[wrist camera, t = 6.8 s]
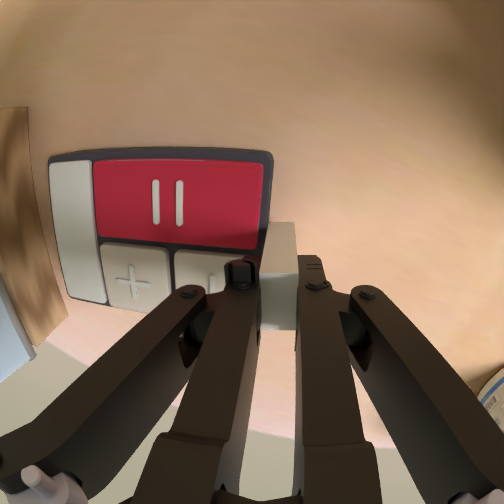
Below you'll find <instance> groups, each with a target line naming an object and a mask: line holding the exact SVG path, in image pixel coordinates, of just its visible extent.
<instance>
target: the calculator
mask: <svg viewBox="0 0 504 504" xmlns="http://www.w3.org/2000/svg"><path fill="white" fill-rule="evenodd" d="M273 167H274V160H273V156H272V154H271V153H270V152H268V151H262V150H249V149H234V148H213V147H133V148H108V149H94V150H82V151H76V152H70V153H65V154H60V155H56V156H52V157H50V158H49V160H48V175H49V189H50V200H51V209H52V217H53V224H54V231H55V237H56V243H57V249H58V254H59V259H60V264H61V269H62V273H63V277H64V282H65V286H66V290H67V293H68V295H69V296H70V297H71V298H73V299H77V300H82V301H86V302H91V303H96V304H101V305H105V306H110V307H116V308H121V309H126V310H132V311H137V312H143V313H150V312H151V311H152V310H153V309H154V308H155V307H157V306H158V305H159V304H160V303H161V302H162V301H163V300H164V299H166V298H167V297H168V296H169V295H170V294H171V293H172V292H174V291H175V290H176V289H178V288H179V287H182V286H184V285H189V284H193V285H199V286H202V287H203V288H205V291H206V294H211V293H217V292H221V291H223V290H224V287H225V285H226V284H225V273H224V265H225V264H226V263H227V262H229V261H231V260H236V259H242V258H243V257H244V256H263V250H264V245H265V240H266V235H267V230H268V221H269V210H270V200H271V189H272V178H273Z"/></svg>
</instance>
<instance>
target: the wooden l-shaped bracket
mask: <svg viewBox="0 0 504 504" xmlns="http://www.w3.org/2000/svg"><path fill="white" fill-rule="evenodd" d="M0 273H1V275H2V278H3V281H4V284H5V286H6V289H7V292H8V294H9V297H10V299H11V302H12V304H13V307H14V309H15V311H16V314H17V316H18V318H19V320H20V323H21V325H22V327H23V329H24V331H25V333H26V335H27V337H28V339H29V341H30V343H31V344H32V345H34V346H37V347H38V346H39V345H40V344H41V342H42V341H44V339H45V338H46V337H47V336H48V335H49V334H50V333H51V332H52V331H53V330H54V329H55V328H56V327H57V326H58V325H59V324H60V323H61V322H62V321H63V320H64V319H65V318H66V317H67V316H68V313H67V310H66V308H65V305H64V302H63V300H62V297H61V294H60V291H59V288H58V285H57V282H56V279H55V276H54V273H53V270H52V266H51V263H50V259H49V256H48V252H47V249H46V245H45V241H44V237H43V233H42V228H41V224H40V219H39V214H38V209H37V204H36V198H35V192H34V185H33V178H32V170H31V161H30V151H29V136H28V107H17V108H4V109H0Z"/></svg>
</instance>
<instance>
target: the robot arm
mask: <svg viewBox="0 0 504 504" xmlns="http://www.w3.org/2000/svg"><path fill="white" fill-rule="evenodd" d="M224 273H225V284H226V285H225V287H224V290H223V291H221V292H217V293H211V294H206V291H205V288H203V287H202V286H199V285H193V284H189V285H184V286H182V287H179V288H178V289H176V290H175V291H174V292H172V293H171V294H170V295H169V296H168V297H167V298H166V299H164V300H163V301H162V302H161V303H160V304H159V305H158V306H157V307H155V308H154V309H153V310H152V311H151V312H150V313H149V314H148V315H146V316H145V317H144V318H143V319H142V320H141V321H140V322H139V323H137V324H136V325H135V326H134V327H133V328H132V329H131V330H130V331H129V332H127V333H126V334H125V335H124V336H123V337H122V338H121V339H120V340H119V341H117V342H116V343H115V344H114V345H113V346H112V347H111V348H110V349H109V350H108V351H107V352H105V353H104V354H103V355H102V356H101V357H100V358H99V359H98V360H97V361H96V362H95V363H93V364H92V365H91V366H90V367H89V368H88V369H87V370H86V371H85V372H84V373H83V374H82V375H81V376H80V377H78V378H77V380H75V381H74V382H73V383H72V384H71V385H70V386H69V387H68V388H67V389H66V390H65V391H64V392H63V393H61V394H60V395H59V396H58V397H57V398H56V399H55V400H54V401H53V402H52V403H51V404H50V405H49V406H48V407H47V408H46V409H45V410H44V411H43V412H41V413H40V414H39V416H37V417H36V418H35V419H34V420H33V421H32V422H30V423H28V424H26V425H24V426H22V427H20V428H18V429H16V430H14V431H12V432H10V433H8V434H6V435H4V436H2V437H0V489H1V490H2V491H3V492H4V493H5V495H6V497H7V499H8V502H9V504H88V500H89V499H91V498H93V497H94V496H96V495H97V494H98V493H99V492H101V491H102V490H103V489H104V488H105V487H106V486H107V485H108V484H109V483H110V482H111V481H112V480H113V478H114V477H115V476H116V475H117V473H118V472H119V471H120V470H121V469H122V467H123V466H124V465H125V463H126V462H127V461H128V460H129V458H130V457H131V455H132V454H133V453H134V452H135V450H136V449H137V448H138V447H139V445H140V444H141V443H142V441H143V440H144V439H145V438H146V436H147V435H148V434H149V432H150V431H151V430H152V428H153V427H154V426H155V424H156V423H157V422H158V421H159V419H160V418H161V417H162V415H163V414H164V413H165V411H166V410H167V409H168V407H169V406H170V405H171V403H172V402H173V401H174V399H175V398H176V397H177V395H178V394H179V393H180V391H181V390H182V388H183V387H184V386H185V384H186V383H187V382H188V384H187V387H186V389H185V392H184V395H183V397H182V400H181V403H180V406H179V408H178V411H177V414H176V416H175V419H174V422H173V425H172V427H171V429H170V430H169V432H163V433H160V434H159V435H158V436H157V438H156V440H155V442H154V443H153V446H152V449H151V451H150V454H149V456H148V459H147V461H146V464H145V466H144V469H143V472H142V474H141V477H140V479H139V482H138V485H137V487H136V490H135V493H134V495H133V496H132V497H130V498H128V499H126V500H125V501H123V502H121V503H119V504H382V496H381V488H380V480H379V472H378V465H377V458H376V453H375V449H374V446H373V444H372V443H371V442H369V441H366V440H365V438H364V434H363V428H362V422H361V416H360V410H359V404H358V399H357V394H356V388H355V383H354V378H353V373H352V369H351V365H352V367H353V368H354V370H355V372H356V374H357V375H358V377H359V379H360V381H361V383H362V384H363V386H364V388H365V390H366V392H367V393H368V395H369V397H370V399H371V401H372V403H373V404H374V406H375V408H376V410H377V412H378V414H379V415H380V417H381V419H382V421H383V423H384V425H385V427H386V429H387V430H388V432H389V434H390V436H391V438H392V440H393V442H394V444H395V446H396V447H397V449H398V451H399V453H400V455H401V457H402V459H403V461H404V463H405V465H406V467H407V469H408V471H409V473H410V474H411V477H412V479H413V481H414V483H415V485H416V487H417V489H418V490H419V493H420V494H421V496H422V498H423V500H424V501H425V503H426V504H504V433H503V432H502V430H501V429H500V427H499V426H498V425H497V423H496V422H495V421H494V419H493V418H492V417H491V415H490V414H489V413H488V411H487V410H486V409H485V407H484V406H483V405H482V404H481V402H480V401H479V400H478V398H477V397H476V396H475V395H474V393H473V392H472V391H471V390H470V388H469V387H468V386H467V385H466V384H465V382H464V381H463V380H462V379H461V377H460V376H459V375H458V374H457V373H456V371H455V370H454V369H453V368H452V367H451V366H450V364H449V363H448V362H447V361H446V360H445V359H444V357H443V356H442V355H441V354H440V353H439V352H438V351H437V349H436V348H435V347H434V346H433V345H432V344H431V343H430V342H429V340H428V339H427V338H426V337H425V336H424V335H423V334H422V333H421V332H420V331H419V329H418V328H417V327H416V326H415V325H414V324H413V323H412V322H411V321H410V320H409V319H408V318H407V317H406V316H405V314H404V313H403V312H402V311H401V310H400V309H399V308H398V307H397V306H396V305H395V304H394V303H393V302H392V301H391V300H390V299H389V298H388V297H387V296H386V295H385V294H384V293H383V292H382V291H381V290H380V289H378V288H376V287H373V286H370V285H369V286H368V285H360V286H356V287H354V288H353V289H352V290H351V294H344V293H339V292H336V291H334V290H333V289H332V285H331V284H330V282H329V281H327V280H326V277H325V273H324V269H323V266H322V262H321V259H320V258H319V257H317V256H316V255H297V247H296V237H295V226H294V222H269V224H268V230H267V235H266V240H265V245H264V250H263V256H244V257H243V258H242V259H236V260H231V261H229V262H227V263H226V264H225V265H224ZM260 327H261V330H296V337H295V351H296V412H295V453H294V476H293V488H292V496H290V497H285V498H280V499H274V500H268V501H255V500H251V499H248V498H245V497H242V496H239V479H240V472H241V467H242V460H243V454H244V448H245V442H246V435H247V429H248V422H249V416H250V409H251V402H252V395H253V388H254V382H255V375H256V367H257V360H258V353H259V346H260V338H261V333H260ZM180 335H181V336H180ZM350 363H351V364H350ZM188 380H189V381H188Z"/></svg>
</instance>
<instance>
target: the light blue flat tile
mask: <svg viewBox="0 0 504 504" xmlns="http://www.w3.org/2000/svg"><path fill="white" fill-rule="evenodd" d="M35 357H36V353H35V351H34V349H33V347H32V345H31V343H30V341H29V339H28V337H27V335H26V333H25V331H24V329H23V327H22V325H21V323H20V320H19V318H18V316H17V314H16V311H15V309H14V307H13V304H12V302H11V299H10V297H9V294H8V292H7V289H6V286H5V284H4V281H3V278H2V275H1V273H0V383H1V382H2V381H3V380H5V379H6V378H7V377H8V376H9V375H11V374H12V373H13V372H14V371H16V370H17V369H18V368H19V367H21V366H22V365H23V364H24V363H26V362H27V361H28V360H29V361H30V360H33V359H34V358H35Z"/></svg>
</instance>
